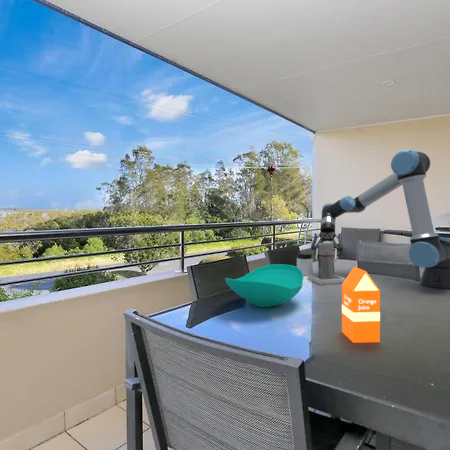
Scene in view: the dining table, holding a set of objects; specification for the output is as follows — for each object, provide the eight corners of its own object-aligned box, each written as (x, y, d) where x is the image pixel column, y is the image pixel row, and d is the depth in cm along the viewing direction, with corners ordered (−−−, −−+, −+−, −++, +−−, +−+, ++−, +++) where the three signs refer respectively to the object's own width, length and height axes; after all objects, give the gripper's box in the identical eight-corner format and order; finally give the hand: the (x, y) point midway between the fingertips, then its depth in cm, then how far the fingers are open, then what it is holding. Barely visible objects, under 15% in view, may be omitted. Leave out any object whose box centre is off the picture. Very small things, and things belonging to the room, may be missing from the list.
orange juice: (366, 331, 106) (366, 266, 105) (380, 342, 97) (380, 271, 96) (341, 331, 106) (341, 266, 105) (352, 342, 97) (352, 271, 96)
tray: (346, 283, 173) (346, 278, 173) (319, 285, 171) (319, 280, 171) (332, 278, 187) (332, 273, 187) (308, 279, 185) (308, 275, 185)
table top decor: (257, 290, 161) (257, 262, 161) (316, 298, 146) (316, 266, 146) (207, 312, 128) (206, 276, 128) (276, 325, 113) (276, 284, 112)
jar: (306, 276, 193) (306, 255, 193) (294, 274, 199) (294, 253, 198) (315, 274, 199) (315, 253, 199) (303, 272, 205) (303, 252, 205)
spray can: (331, 282, 173) (331, 242, 172) (315, 280, 178) (315, 241, 177) (337, 279, 180) (337, 240, 179) (321, 277, 185) (321, 240, 184)
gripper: (348, 231, 189) (348, 265, 174) (308, 231, 196) (305, 263, 182) (348, 222, 183) (348, 256, 169) (307, 222, 191) (303, 255, 176)
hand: (326, 260), depth 175 cm, fingers open, 9 cm apart
